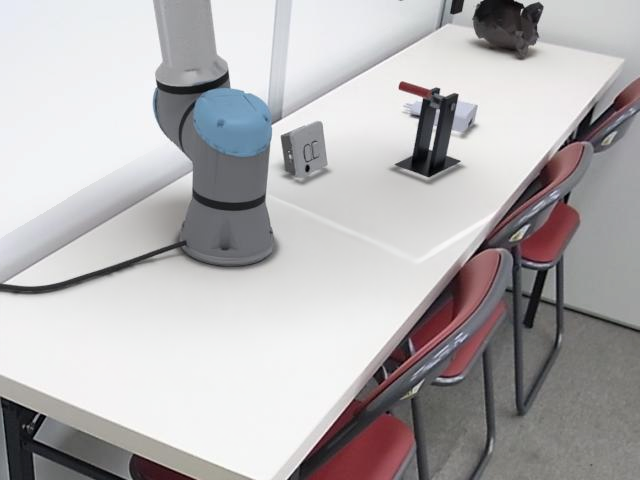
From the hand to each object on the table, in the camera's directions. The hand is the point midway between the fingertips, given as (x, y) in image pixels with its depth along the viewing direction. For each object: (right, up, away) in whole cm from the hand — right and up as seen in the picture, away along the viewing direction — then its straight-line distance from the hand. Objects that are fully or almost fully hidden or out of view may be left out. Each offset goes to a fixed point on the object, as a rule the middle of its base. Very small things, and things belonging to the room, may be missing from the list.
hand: (429, 5), depth 154 cm
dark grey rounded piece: (+38, +30, +96) cm, 107 cm away
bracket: (+5, -21, +25) cm, 33 cm away
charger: (+10, -6, +46) cm, 47 cm away
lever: (+2, -12, +14) cm, 18 cm away
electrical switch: (-20, -23, +20) cm, 37 cm away
